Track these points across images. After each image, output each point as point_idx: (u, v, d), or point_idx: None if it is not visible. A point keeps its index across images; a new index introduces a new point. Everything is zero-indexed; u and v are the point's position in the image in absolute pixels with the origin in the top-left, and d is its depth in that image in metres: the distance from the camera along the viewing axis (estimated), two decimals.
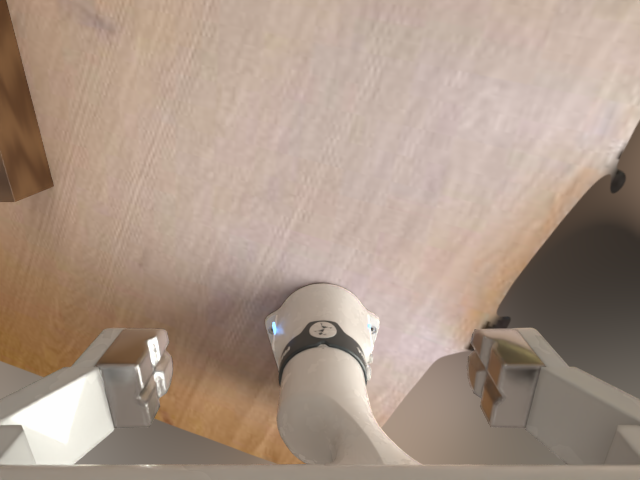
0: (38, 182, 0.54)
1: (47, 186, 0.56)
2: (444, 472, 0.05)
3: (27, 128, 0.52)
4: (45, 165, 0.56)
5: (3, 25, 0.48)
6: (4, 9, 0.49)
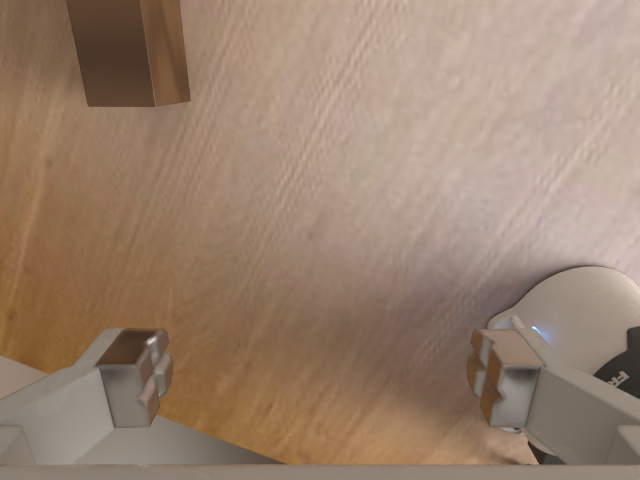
0: (177, 85, 0.31)
1: (185, 98, 0.33)
2: (444, 472, 0.05)
3: None
4: (183, 60, 0.33)
5: None
6: None
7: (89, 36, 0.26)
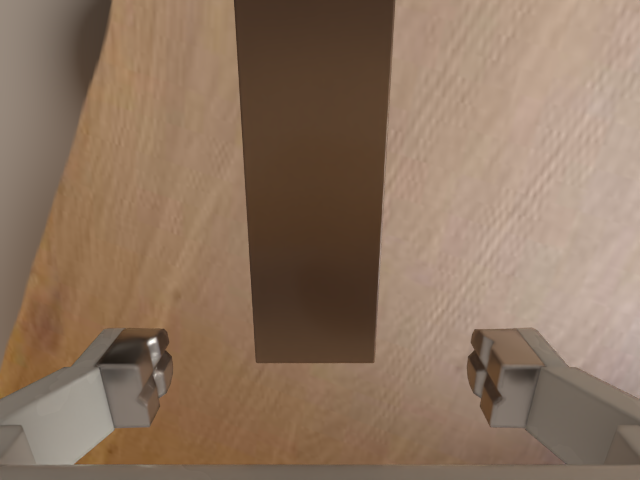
0: None
1: None
2: (444, 472, 0.05)
3: None
4: None
5: None
6: None
7: (278, 262, 0.14)
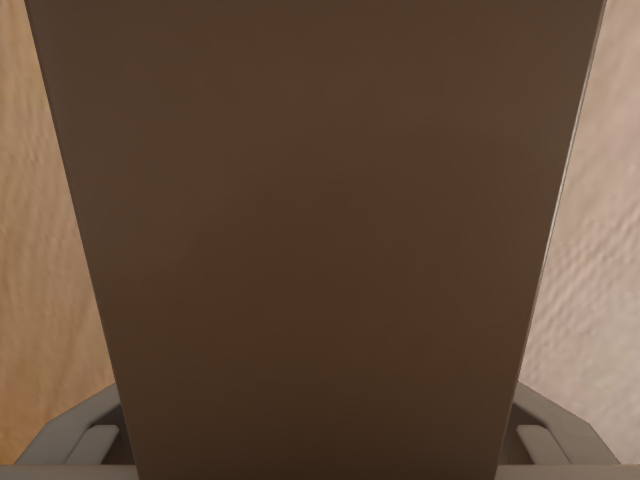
0: None
1: None
2: None
3: None
4: None
5: None
6: None
7: None
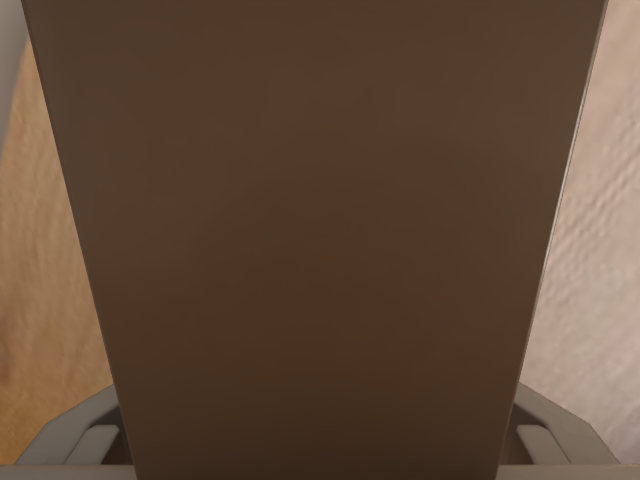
0: None
1: None
2: None
3: None
4: None
5: None
6: None
7: None
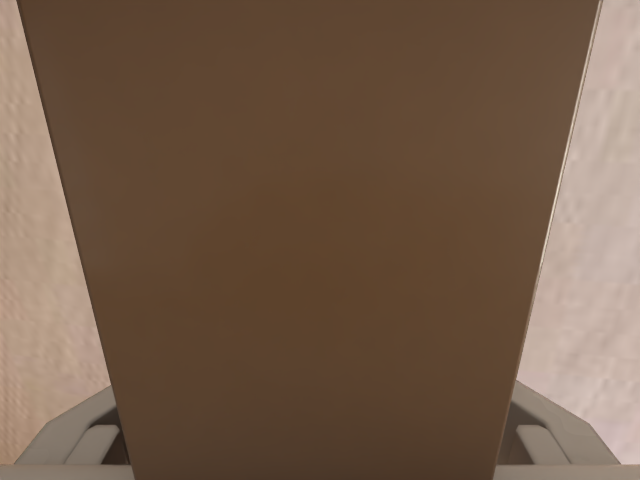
0: None
1: None
2: None
3: None
4: None
5: None
6: None
7: None
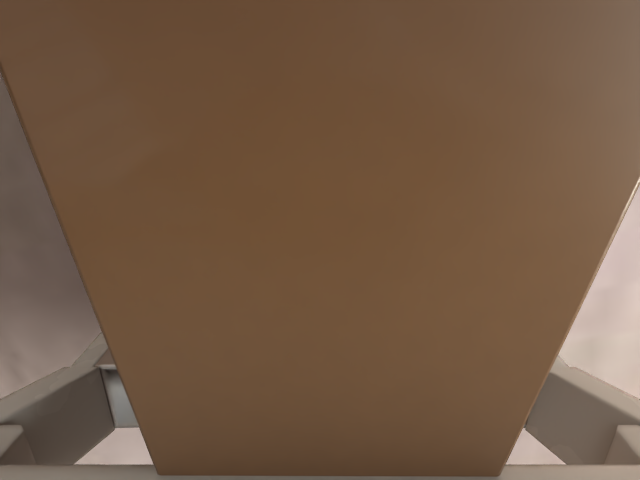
0: None
1: None
2: None
3: None
4: None
5: None
6: None
7: None
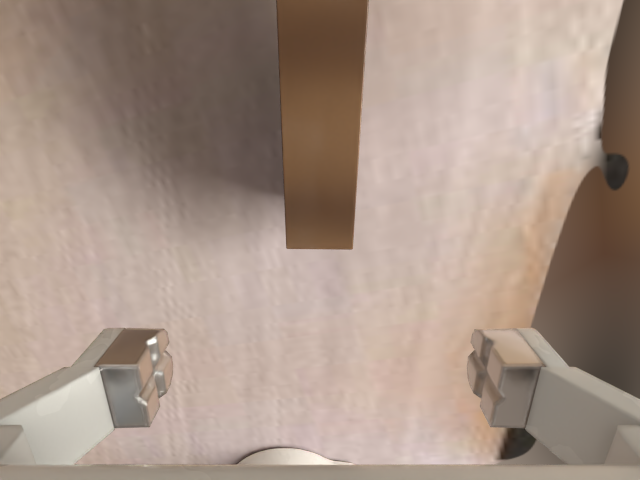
0: None
1: None
2: (444, 472, 0.05)
3: None
4: None
5: None
6: None
7: (300, 193, 0.26)
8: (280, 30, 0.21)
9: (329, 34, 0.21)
